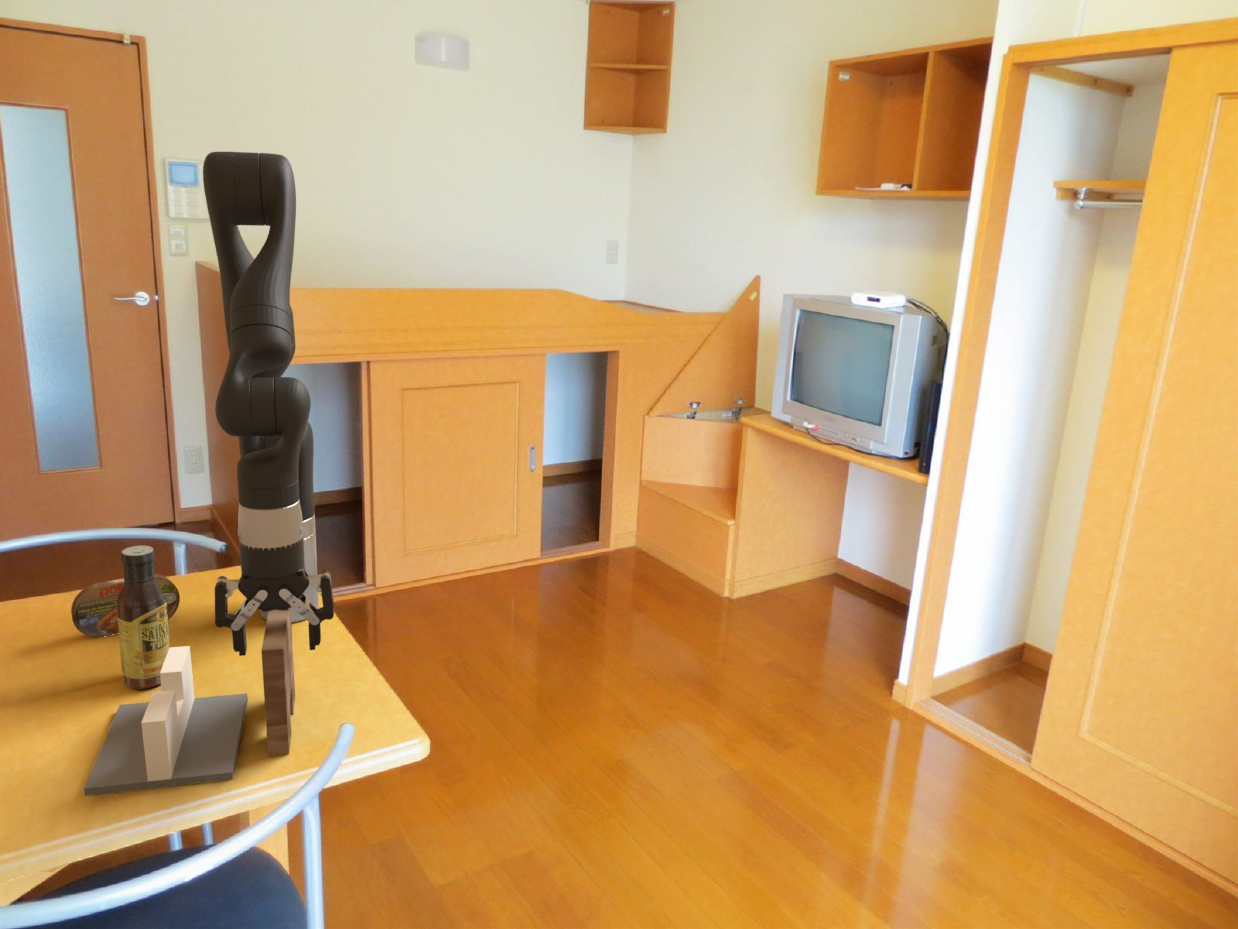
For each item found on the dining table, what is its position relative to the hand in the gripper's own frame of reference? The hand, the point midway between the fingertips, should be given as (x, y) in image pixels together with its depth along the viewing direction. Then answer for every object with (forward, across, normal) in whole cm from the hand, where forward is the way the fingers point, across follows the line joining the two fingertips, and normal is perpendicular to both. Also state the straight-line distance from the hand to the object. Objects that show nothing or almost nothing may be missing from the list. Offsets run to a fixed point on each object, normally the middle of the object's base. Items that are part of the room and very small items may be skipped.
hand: (278, 650), depth 119 cm
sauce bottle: (+11, +19, -15) cm, 27 cm away
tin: (+11, +25, -32) cm, 42 cm away
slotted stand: (+11, +13, +2) cm, 17 cm away
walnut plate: (+11, 0, 0) cm, 11 cm away
